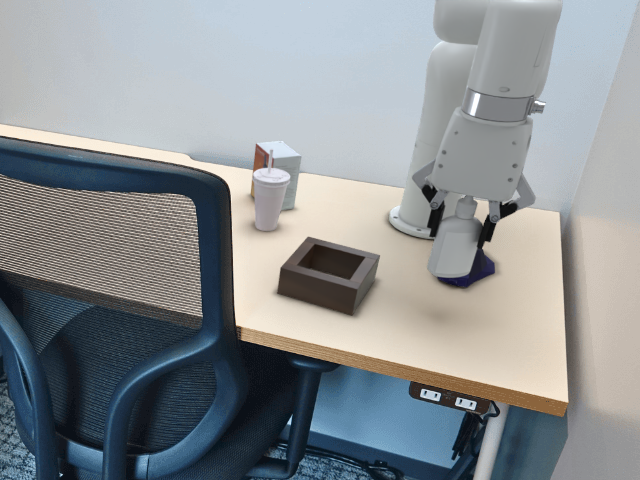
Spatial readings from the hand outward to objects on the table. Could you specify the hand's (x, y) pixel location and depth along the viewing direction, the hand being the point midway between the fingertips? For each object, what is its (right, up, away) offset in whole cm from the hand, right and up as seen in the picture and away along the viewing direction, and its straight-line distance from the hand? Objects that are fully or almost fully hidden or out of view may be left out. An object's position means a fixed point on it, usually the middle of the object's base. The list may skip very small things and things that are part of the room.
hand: (457, 238), depth 93 cm
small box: (-19, +11, +38) cm, 44 cm away
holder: (-14, -6, +13) cm, 20 cm away
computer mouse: (+9, -3, +18) cm, 20 cm away
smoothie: (-21, +5, +29) cm, 37 cm away
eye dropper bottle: (0, -5, +3) cm, 5 cm away
